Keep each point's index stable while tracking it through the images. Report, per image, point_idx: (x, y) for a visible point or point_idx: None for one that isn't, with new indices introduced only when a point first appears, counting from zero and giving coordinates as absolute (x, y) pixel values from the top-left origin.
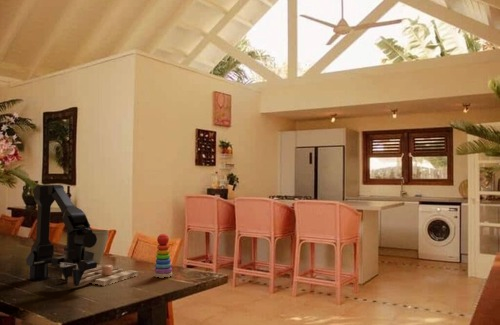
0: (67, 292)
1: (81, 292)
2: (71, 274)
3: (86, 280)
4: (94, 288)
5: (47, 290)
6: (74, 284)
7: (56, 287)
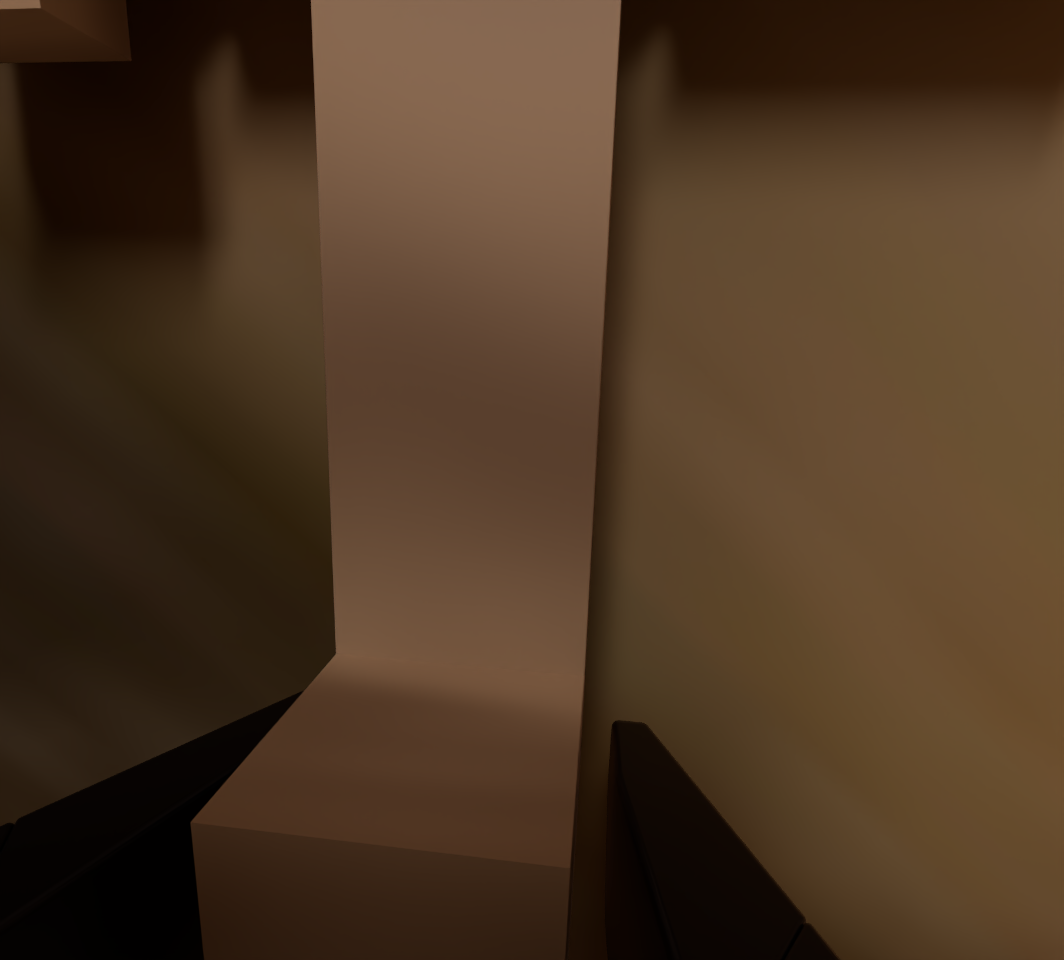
0: (575, 897)
1: (885, 791)
2: (79, 922)
3: (570, 293)
4: (956, 341)
5: None
6: (575, 836)
7: (31, 689)
